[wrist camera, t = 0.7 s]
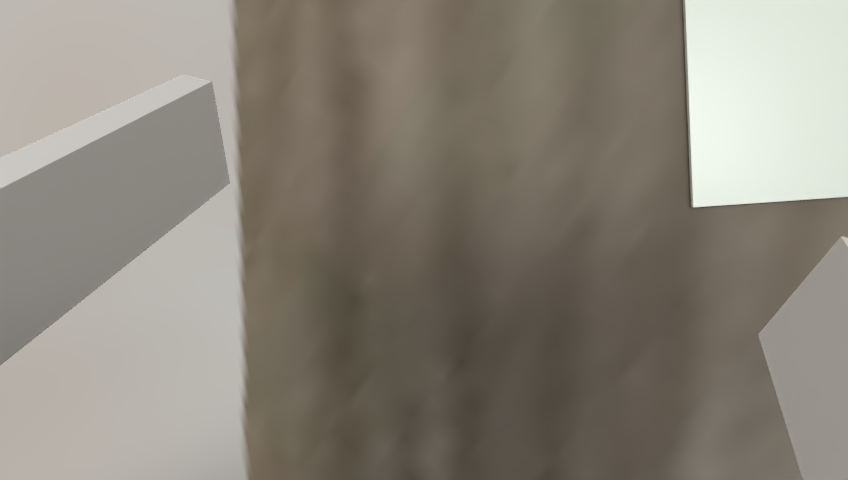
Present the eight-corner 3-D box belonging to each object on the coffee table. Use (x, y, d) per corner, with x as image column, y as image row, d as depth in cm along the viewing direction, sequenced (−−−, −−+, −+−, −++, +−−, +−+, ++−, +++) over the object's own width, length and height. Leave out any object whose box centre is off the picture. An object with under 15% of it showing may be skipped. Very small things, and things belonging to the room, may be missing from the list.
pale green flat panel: (983, 186, 22) (994, 186, 22) (690, 206, 26) (692, 207, 25) (989, -89, 21) (1000, -97, 20) (681, -24, 25) (684, -29, 24)
